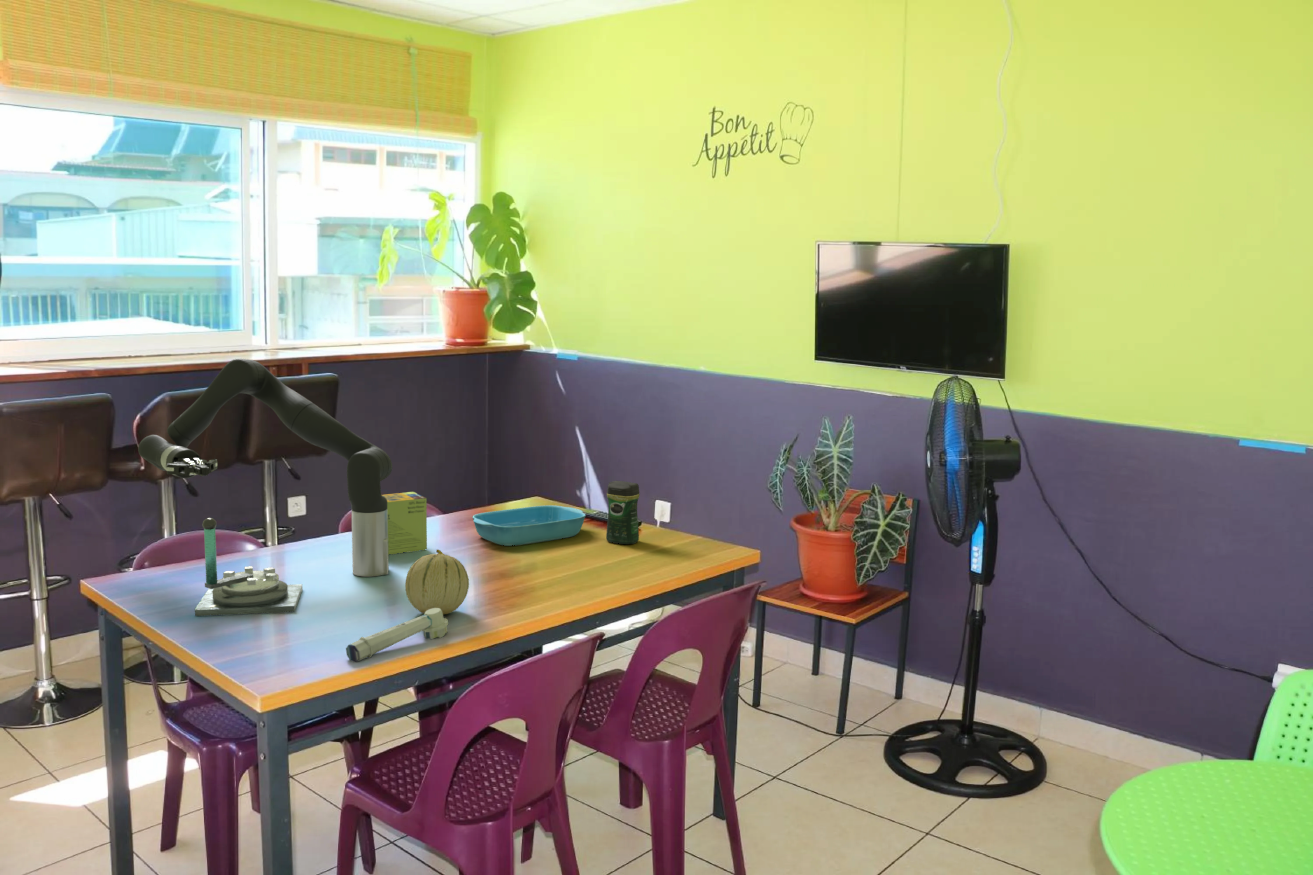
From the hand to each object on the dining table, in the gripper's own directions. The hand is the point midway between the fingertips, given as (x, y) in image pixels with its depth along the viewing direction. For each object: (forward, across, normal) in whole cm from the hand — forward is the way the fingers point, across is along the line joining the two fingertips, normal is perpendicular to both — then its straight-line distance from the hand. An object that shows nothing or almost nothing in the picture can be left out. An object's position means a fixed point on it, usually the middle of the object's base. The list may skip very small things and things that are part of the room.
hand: (205, 471), depth 267 cm
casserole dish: (+2, +96, +30) cm, 101 cm away
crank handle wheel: (+17, +1, +26) cm, 31 cm away
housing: (+16, +4, +30) cm, 34 cm away
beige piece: (+66, +17, +30) cm, 74 cm away
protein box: (-8, +56, +30) cm, 64 cm away
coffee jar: (+25, +114, +30) cm, 121 cm away
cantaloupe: (+52, +34, +30) cm, 69 cm away
